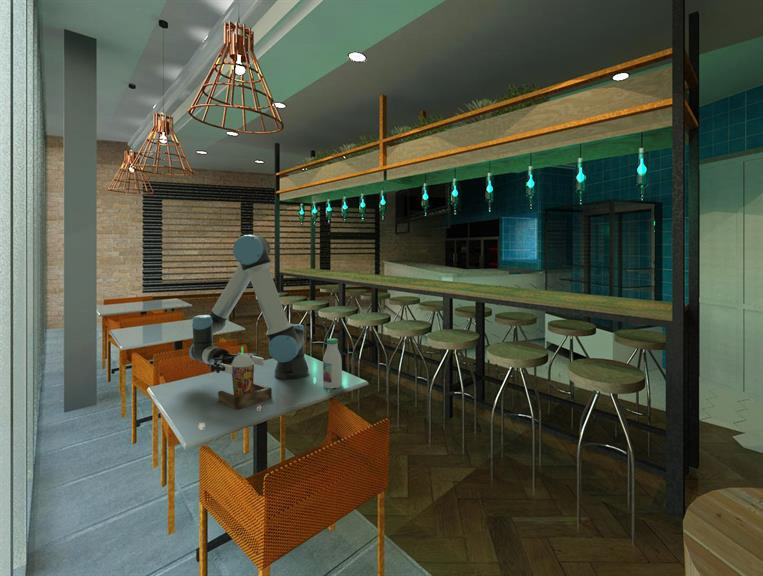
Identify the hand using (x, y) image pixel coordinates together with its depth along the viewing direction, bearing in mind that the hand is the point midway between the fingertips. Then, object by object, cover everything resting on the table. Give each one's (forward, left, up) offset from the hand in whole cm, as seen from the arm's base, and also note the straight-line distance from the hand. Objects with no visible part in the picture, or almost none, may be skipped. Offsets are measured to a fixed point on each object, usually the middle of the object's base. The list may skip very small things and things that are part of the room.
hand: (247, 366), depth 153 cm
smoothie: (0, -3, -13) cm, 14 cm away
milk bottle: (-33, +10, -14) cm, 37 cm away
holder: (0, -3, -13) cm, 14 cm away
